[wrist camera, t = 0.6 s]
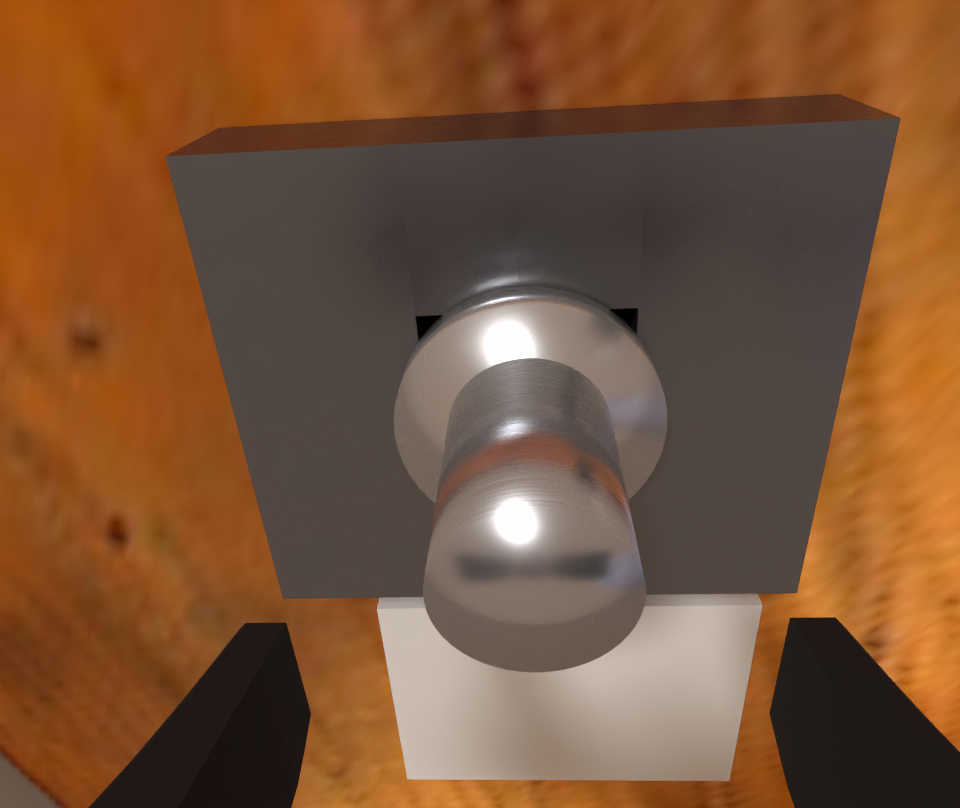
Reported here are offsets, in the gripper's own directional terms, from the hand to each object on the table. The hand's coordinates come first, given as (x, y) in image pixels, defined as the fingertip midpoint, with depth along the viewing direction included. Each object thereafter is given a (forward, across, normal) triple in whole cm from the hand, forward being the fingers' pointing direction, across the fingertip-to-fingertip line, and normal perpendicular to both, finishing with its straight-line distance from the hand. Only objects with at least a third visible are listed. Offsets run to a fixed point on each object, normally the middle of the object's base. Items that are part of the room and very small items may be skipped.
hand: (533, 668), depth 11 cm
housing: (+10, 0, 0) cm, 10 cm away
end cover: (+10, 0, 0) cm, 10 cm away
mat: (+10, -1, +13) cm, 17 cm away
